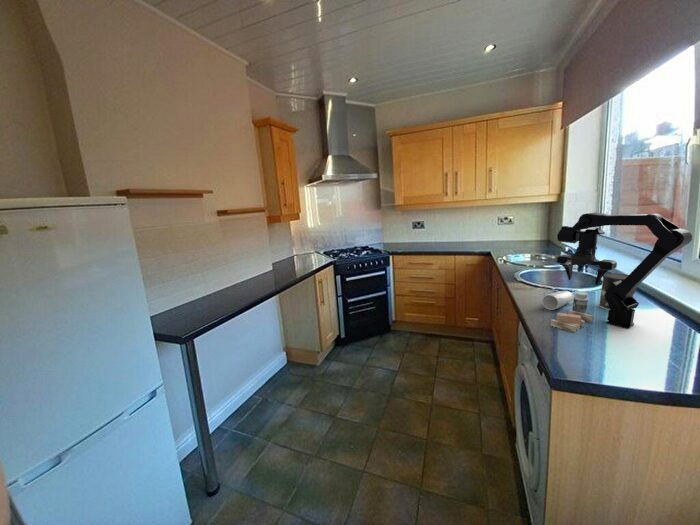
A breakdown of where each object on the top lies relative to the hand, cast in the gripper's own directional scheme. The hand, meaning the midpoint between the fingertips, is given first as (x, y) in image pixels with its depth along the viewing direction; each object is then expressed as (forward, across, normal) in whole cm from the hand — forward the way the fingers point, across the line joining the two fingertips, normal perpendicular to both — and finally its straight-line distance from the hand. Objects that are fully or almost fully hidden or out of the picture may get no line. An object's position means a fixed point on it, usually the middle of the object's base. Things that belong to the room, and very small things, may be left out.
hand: (582, 282), depth 125 cm
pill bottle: (+13, 0, 0) cm, 13 cm away
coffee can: (+13, +7, +16) cm, 22 cm away
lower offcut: (+13, +3, -19) cm, 24 cm away
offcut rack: (+13, +3, -15) cm, 20 cm away
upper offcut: (+11, +3, -19) cm, 22 cm away
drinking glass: (+10, -8, +9) cm, 16 cm away
